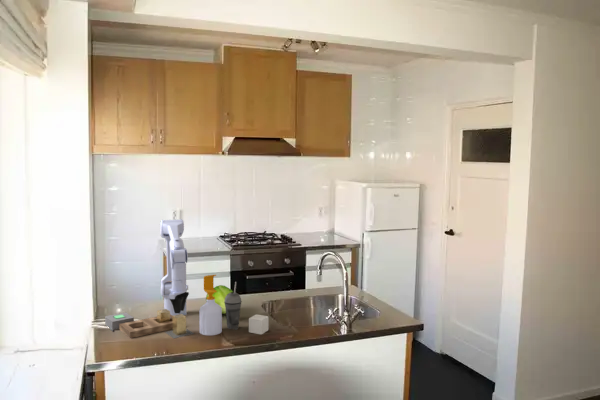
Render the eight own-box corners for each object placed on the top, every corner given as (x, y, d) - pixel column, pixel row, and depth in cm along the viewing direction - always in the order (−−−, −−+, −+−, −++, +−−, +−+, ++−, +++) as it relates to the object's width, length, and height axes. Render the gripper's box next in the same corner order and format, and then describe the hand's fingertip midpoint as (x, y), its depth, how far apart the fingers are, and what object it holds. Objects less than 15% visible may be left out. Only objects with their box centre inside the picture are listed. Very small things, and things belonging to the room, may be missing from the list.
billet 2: (181, 330, 211) (181, 313, 210) (186, 333, 208) (186, 316, 207) (172, 332, 209) (172, 315, 208) (177, 335, 206) (176, 318, 205)
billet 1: (166, 324, 220) (165, 308, 219) (170, 327, 216) (169, 311, 216) (157, 326, 217) (157, 310, 216) (161, 329, 214) (160, 313, 213)
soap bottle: (203, 338, 204) (203, 277, 202) (196, 330, 213) (196, 272, 210) (224, 334, 209) (224, 275, 206) (217, 327, 217) (217, 270, 214)
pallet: (170, 320, 225) (169, 313, 225) (182, 328, 216) (182, 321, 215) (119, 331, 211) (119, 324, 211) (130, 339, 202) (130, 332, 202)
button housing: (126, 321, 223) (126, 312, 223) (133, 326, 216) (133, 317, 216) (105, 325, 218) (105, 316, 217) (112, 331, 211) (112, 321, 210)
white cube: (255, 328, 217) (256, 314, 217) (268, 330, 215) (268, 316, 214) (248, 332, 212) (248, 318, 211) (261, 334, 209) (261, 320, 209)
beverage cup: (224, 325, 219) (224, 279, 217) (241, 325, 220) (241, 279, 218) (223, 331, 212) (223, 284, 210) (241, 331, 213) (241, 284, 211)
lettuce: (211, 322, 223) (211, 296, 222) (203, 309, 242) (203, 284, 241) (242, 319, 227) (242, 293, 226) (232, 306, 246) (232, 282, 245)
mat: (184, 328, 215) (184, 327, 215) (194, 335, 208) (194, 333, 208) (164, 333, 209) (164, 332, 209) (173, 339, 202) (173, 338, 202)
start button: (122, 321, 219) (122, 314, 219) (125, 323, 217) (125, 316, 216) (113, 323, 217) (113, 316, 217) (116, 325, 214) (116, 318, 214)
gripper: (176, 274, 214) (177, 305, 215) (161, 282, 200) (162, 316, 201) (192, 275, 213) (193, 306, 214) (178, 283, 199) (179, 317, 200)
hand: (179, 311), depth 208 cm, fingers open, 3 cm apart
